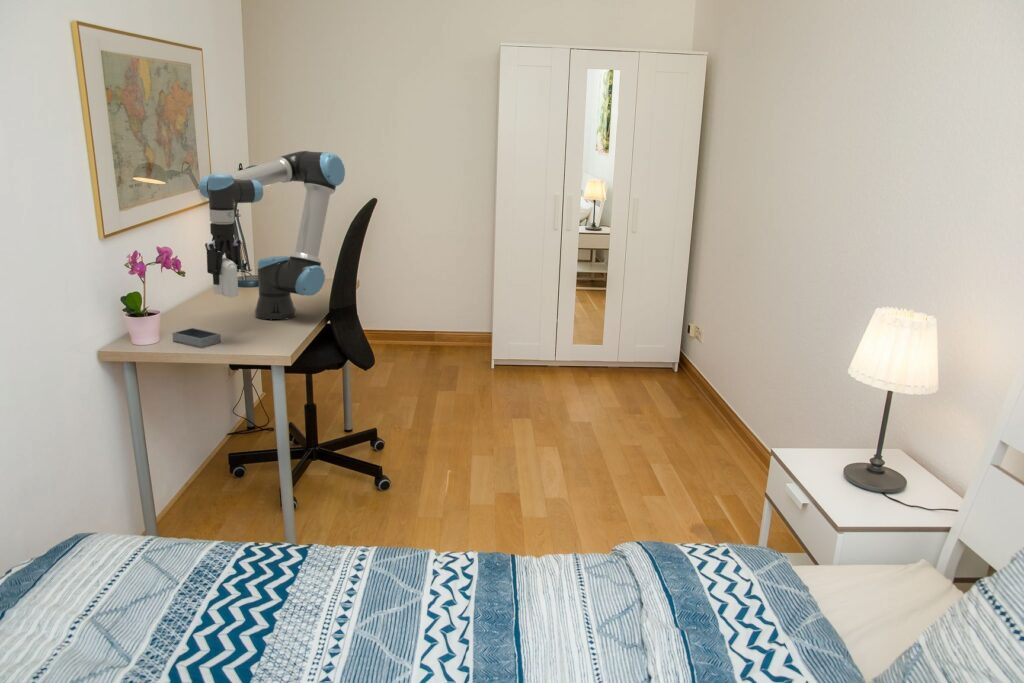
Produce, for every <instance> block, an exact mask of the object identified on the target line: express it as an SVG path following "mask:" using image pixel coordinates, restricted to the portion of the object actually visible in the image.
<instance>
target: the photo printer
mask: <svg viewBox="0 0 1024 683" xmlns="http://www.w3.org/2000/svg"><path fill="white" fill-rule="evenodd" d="M220 275H222V283H223V295H221V296H223V297H227V298H230V299H231V298H237V297H238V296H239V284H238V283H239V280H238V272H237V266H236V264H235V263H234V262H233V261H231V260H229V259H226V257H223V258H222V264H221V271H220ZM212 284H213V286H212V287H213V293H214V294H215V285H214V283H213V282H212Z"/></svg>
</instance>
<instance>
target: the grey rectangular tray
mask: <svg viewBox="0 0 1024 683" xmlns="http://www.w3.org/2000/svg"><path fill="white" fill-rule="evenodd" d="M221 335H222V334H221V333H218V332H213V331H209V330H204V329H199V328H194V327H190V328H186V329H183V330H179V331H174V332H172V342H173V343H179V344H183V345H187V346H191V347H196V348H200V349H203V347H204V348H207V347H210V345H211V346H215V345H218V344H220V343H222V336H221ZM206 346H207V347H206Z"/></svg>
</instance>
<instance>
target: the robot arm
mask: <svg viewBox="0 0 1024 683" xmlns="http://www.w3.org/2000/svg"><path fill="white" fill-rule="evenodd" d="M345 174H346V169H345V165H344V163H343V160H342V158H340V157H339V156H338V155H337V154H335V153H330V152H327V151H326V152H324V151H323V152H319V151H308V150H302V151H301V150H300V151H296V152H291V153H288V154H285V155H281V156H278V157H275V158H274V160H272V161H270V162H267V163H262V164H259V165H256V166H251V167H248V168H244V169H241V170H237V171H234V172H229V173H226V174H225V173H211V174H209V175H208V176H204V177H202V178H201V179H200V180H199V184H198V188H199V189H198V190H199V193H200V194H201V196H203V197H204V198H206V199H208V204H209V205H208V206H209V207H208V209H209V221H210V222H211V223H210V224H209V226H210V229H209V230H210V234H211V235H212V239H211V241H210V242H209V243H207V242H206V243H205V244H204V246H205V250H206V267H207V268H206V270H207V274H210V275H212V284H213V283H214V285H215V293H214V294H215V295H218V296H219V295H220V296H222V295H223V283H222V275H220V271H221V264H222V258H224V257H223V256H224V255H225V258H226V259H229V260H231V261H233V262H234V263H235V264H236V266H237V273H239V272H240V270H241V269H242V260H241V244H242V241H241V240H240V239H235V237H234V236H235V234H236V225H235V205H236V204H246V203H247V204H253V203H258V202H260V201H261V200H262V199H263V196H264V187H266V186H269V185H274V184H277V183H279V182H281V183H283V184H284V183H285V184H286V183H290V182H302V183H303V186H304V188H305V189H306V193H305V197H304V201H303V202H304V203H303V209H302V213H301V218H300V219H301V220H300V225H299V229H298V235H297V239H296V245H295V248H294V249H295V250H294V252H293V253H292V254H290V255H289V256H287V255H279V256H277V255H276V256H268V257H263V258H260V259H259V260H258V262H257V279H258V280H257V282H258V299H257V303H256V307H255V309H254V317H255V316H256V317H255V318H257V317H258V318H257V319H259V318H262V319H261V320H264V319H270V320H269V321H273V320H272V319H284V320H287V319H286V318H289V319H293V318H294V316H295V315H296V316H297V312H296V310H297V309H296V308H295V306H294V303H293V300H292V295H291V294H295V295H300V296H307V297H309V296H310V297H311V296H314V295H316V294H318V292H320V290H322V288H323V286H324V284H325V280H326V275H325V271H324V268H322V266H321V265H322V261H321V259H319V254H320V249H321V243H322V238H323V232H324V229H325V224H326V218H327V212H328V208H329V203H330V202H329V201H330V197H331V195H332V194H334V193H335V192H336V188H337V186H340V185H341V184H342V183H343V182H344V180H345V178H346V177H345V176H346V175H345ZM296 316H295V317H296ZM292 317H293V318H292Z"/></svg>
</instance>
